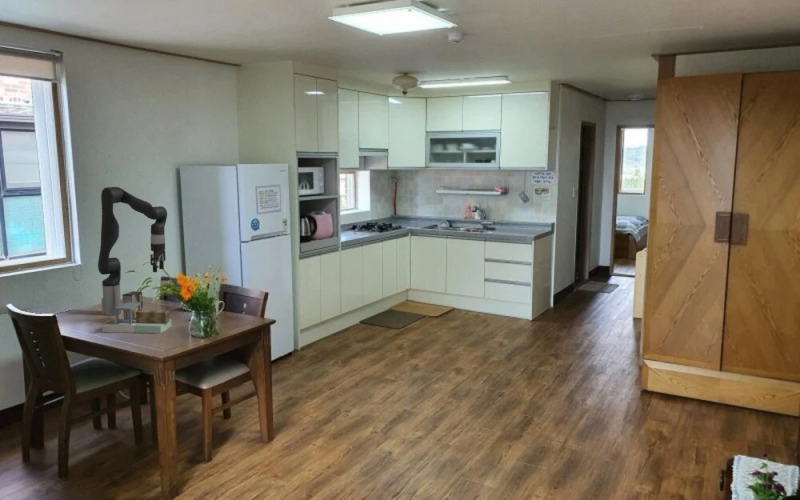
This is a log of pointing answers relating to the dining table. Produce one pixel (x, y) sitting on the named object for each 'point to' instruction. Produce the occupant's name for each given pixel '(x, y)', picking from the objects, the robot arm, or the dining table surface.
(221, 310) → the mug
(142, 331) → the tunnel deck
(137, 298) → the coffee box
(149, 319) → the walnut bar
